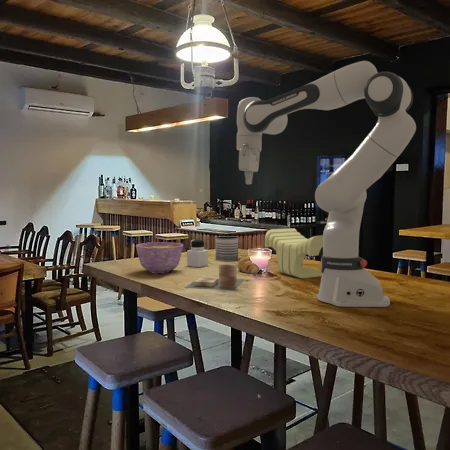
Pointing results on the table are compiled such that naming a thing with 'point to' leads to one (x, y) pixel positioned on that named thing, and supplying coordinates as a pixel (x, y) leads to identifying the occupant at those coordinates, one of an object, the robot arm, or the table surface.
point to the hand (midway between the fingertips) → (248, 184)
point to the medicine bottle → (197, 254)
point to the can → (227, 248)
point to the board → (215, 286)
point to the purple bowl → (159, 256)
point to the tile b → (227, 275)
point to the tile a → (206, 282)
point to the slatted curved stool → (294, 251)
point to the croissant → (247, 266)
